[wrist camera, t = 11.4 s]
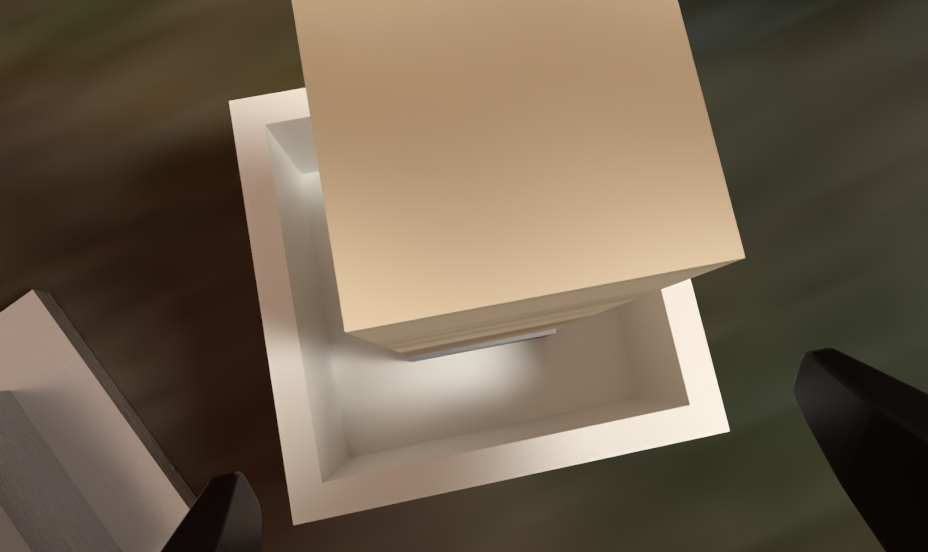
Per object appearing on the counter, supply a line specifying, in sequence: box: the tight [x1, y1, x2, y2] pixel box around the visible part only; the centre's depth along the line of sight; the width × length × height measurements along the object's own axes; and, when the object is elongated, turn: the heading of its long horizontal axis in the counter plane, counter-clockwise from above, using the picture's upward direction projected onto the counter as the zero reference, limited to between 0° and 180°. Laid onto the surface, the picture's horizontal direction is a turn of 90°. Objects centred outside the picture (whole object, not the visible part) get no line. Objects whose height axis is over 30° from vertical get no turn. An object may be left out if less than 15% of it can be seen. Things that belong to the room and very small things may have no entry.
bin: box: [229, 88, 730, 525], centre depth 18 cm, size 11×11×5 cm
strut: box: [292, 0, 745, 362], centre depth 13 cm, size 4×4×13 cm
